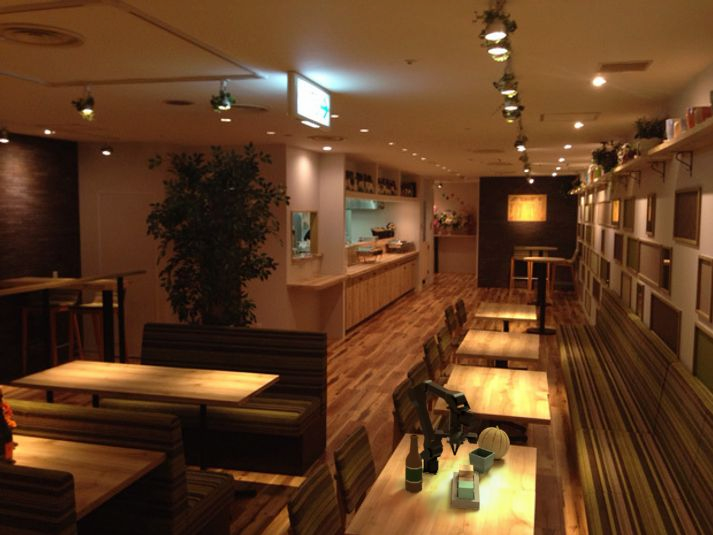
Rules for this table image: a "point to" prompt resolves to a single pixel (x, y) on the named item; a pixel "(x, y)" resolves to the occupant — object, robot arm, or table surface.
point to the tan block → (465, 479)
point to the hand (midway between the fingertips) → (454, 455)
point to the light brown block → (466, 471)
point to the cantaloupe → (494, 441)
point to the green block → (465, 490)
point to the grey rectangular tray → (465, 502)
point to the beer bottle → (413, 467)
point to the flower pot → (481, 460)
